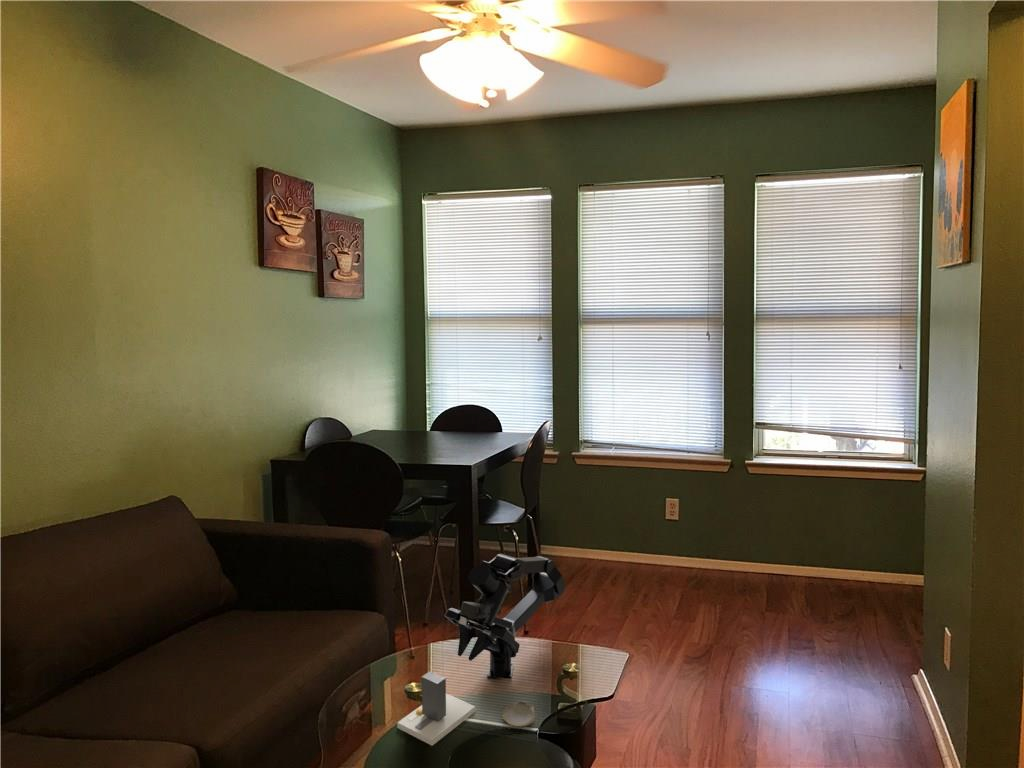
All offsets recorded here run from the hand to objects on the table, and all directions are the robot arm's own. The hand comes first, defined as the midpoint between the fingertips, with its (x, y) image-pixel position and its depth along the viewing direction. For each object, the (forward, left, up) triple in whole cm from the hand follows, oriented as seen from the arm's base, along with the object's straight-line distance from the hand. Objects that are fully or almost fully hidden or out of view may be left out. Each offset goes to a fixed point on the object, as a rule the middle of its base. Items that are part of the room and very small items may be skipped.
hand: (464, 657), depth 204 cm
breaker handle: (+10, -6, -10) cm, 15 cm away
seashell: (+7, +15, -12) cm, 20 cm away
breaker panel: (+9, -5, -12) cm, 16 cm away
